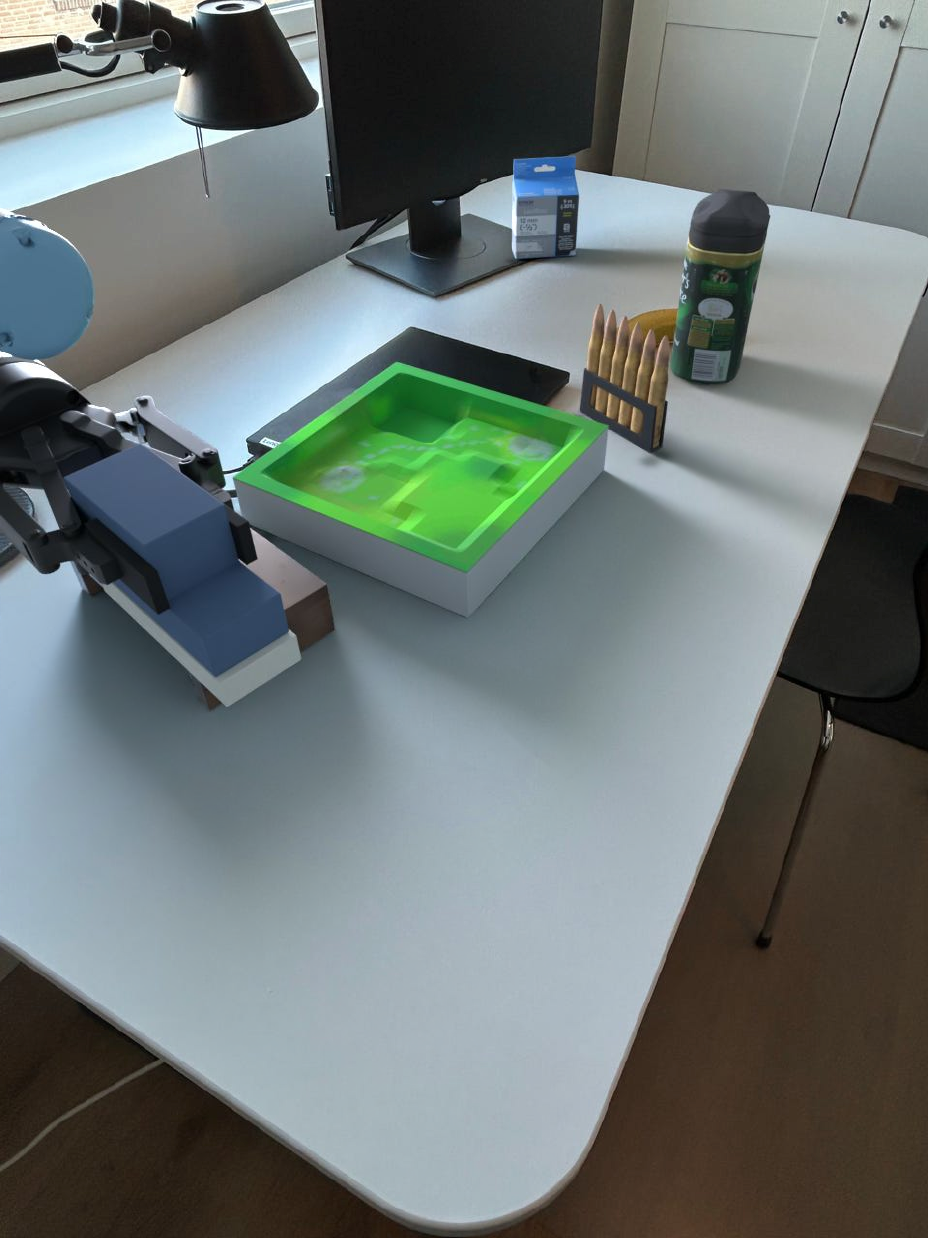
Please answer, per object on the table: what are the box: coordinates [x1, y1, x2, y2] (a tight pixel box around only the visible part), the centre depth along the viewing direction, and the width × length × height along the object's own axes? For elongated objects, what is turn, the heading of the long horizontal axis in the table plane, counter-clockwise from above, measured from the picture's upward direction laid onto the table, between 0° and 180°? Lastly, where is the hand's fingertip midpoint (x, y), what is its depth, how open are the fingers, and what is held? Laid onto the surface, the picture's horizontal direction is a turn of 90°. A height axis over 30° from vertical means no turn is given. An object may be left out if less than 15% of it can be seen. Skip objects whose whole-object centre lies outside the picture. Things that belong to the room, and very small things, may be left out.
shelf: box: [69, 527, 336, 712], centre depth 72 cm, size 12×20×5 cm, turn 45°
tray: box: [232, 361, 609, 619], centre depth 83 cm, size 25×25×5 cm
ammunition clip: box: [579, 303, 671, 454], centre depth 88 cm, size 11×2×12 cm, turn 37°
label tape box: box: [511, 155, 580, 260], centre depth 123 cm, size 9×4×12 cm, turn 95°
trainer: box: [63, 443, 302, 708], centre depth 51 cm, size 5×14×9 cm, turn 45°
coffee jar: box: [670, 188, 771, 386], centre depth 95 cm, size 10×8×19 cm
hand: (203, 567), depth 48 cm, fingers closed on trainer, 5 cm apart
